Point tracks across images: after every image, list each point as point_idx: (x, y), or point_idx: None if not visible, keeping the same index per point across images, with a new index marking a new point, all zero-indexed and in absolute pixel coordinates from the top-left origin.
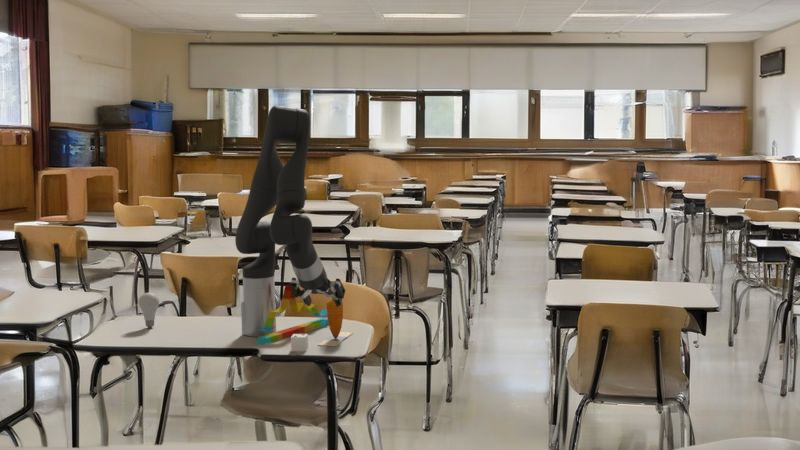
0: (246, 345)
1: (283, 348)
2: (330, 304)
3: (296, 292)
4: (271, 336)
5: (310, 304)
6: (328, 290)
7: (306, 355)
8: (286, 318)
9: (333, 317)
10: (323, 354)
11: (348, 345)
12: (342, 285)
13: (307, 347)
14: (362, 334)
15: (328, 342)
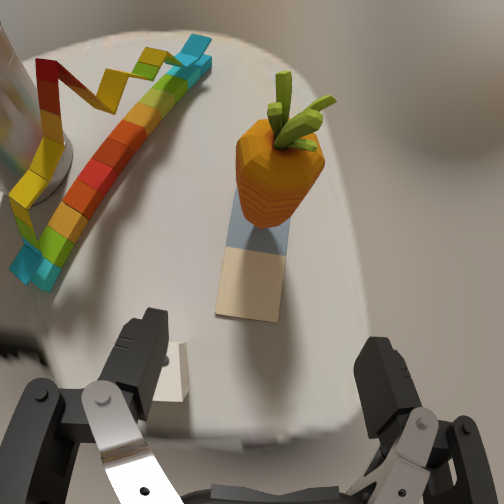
0: (12, 303)
1: (107, 349)
2: (267, 187)
3: (69, 482)
4: (54, 257)
5: (168, 333)
6: (367, 488)
7: (205, 441)
8: (109, 44)
9: (271, 217)
10: (258, 427)
11: (318, 302)
12: (489, 485)
13: (186, 355)
14: (325, 161)
15: (245, 276)
